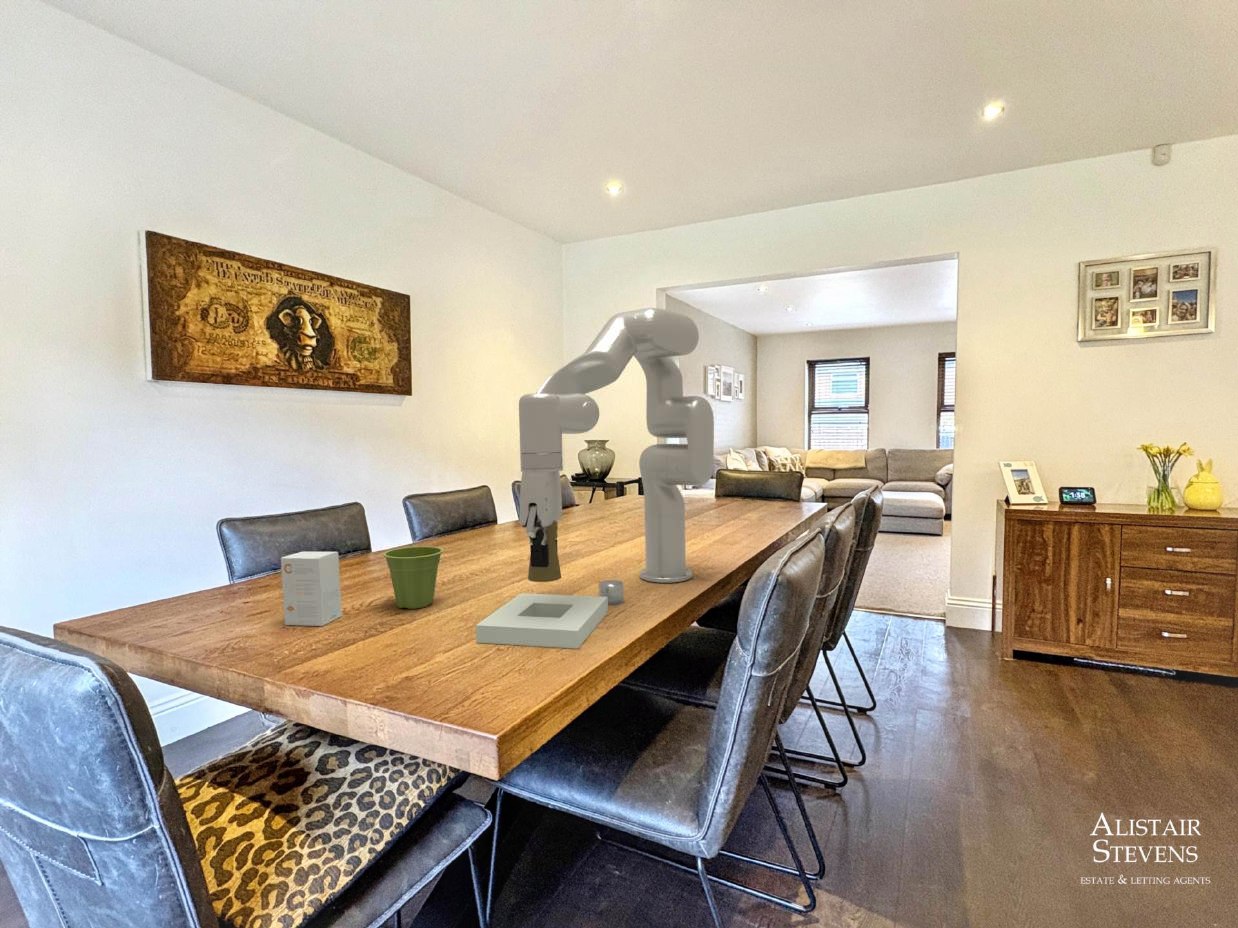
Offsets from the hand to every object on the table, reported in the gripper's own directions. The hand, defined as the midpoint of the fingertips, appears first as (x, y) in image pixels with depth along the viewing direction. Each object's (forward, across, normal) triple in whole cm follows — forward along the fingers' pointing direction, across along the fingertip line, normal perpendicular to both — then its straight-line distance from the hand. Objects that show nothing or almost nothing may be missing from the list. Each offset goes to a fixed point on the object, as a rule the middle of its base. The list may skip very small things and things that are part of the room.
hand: (544, 562), depth 111 cm
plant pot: (+12, -9, -32) cm, 35 cm away
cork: (+3, 0, 0) cm, 3 cm away
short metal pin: (+12, -17, +8) cm, 22 cm away
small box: (+12, +4, -46) cm, 48 cm away
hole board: (+12, 0, 0) cm, 12 cm away
